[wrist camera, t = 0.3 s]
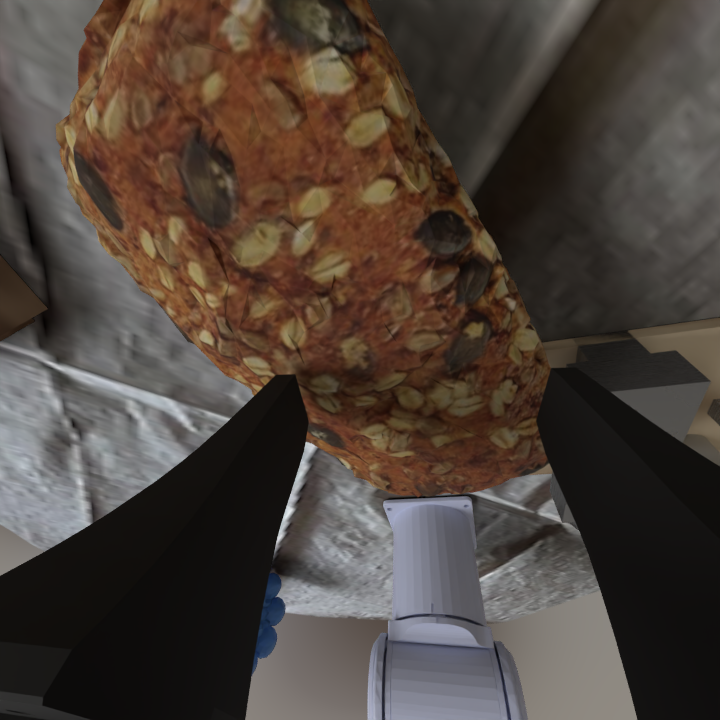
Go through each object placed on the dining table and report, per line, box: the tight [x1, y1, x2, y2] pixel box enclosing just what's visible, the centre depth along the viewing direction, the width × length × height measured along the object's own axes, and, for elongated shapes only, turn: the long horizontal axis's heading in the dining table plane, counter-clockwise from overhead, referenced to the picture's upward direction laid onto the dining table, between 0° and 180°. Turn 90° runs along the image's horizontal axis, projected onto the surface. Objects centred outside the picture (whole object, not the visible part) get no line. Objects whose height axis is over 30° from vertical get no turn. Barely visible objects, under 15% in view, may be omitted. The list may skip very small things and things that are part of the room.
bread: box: [56, 0, 551, 497], centre depth 14 cm, size 19×11×10 cm, turn 36°
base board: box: [529, 318, 720, 475], centre depth 21 cm, size 12×17×1 cm
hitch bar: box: [550, 331, 720, 530], centre depth 19 cm, size 13×16×5 cm
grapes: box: [252, 573, 285, 674], centre depth 39 cm, size 12×7×12 cm, turn 34°
